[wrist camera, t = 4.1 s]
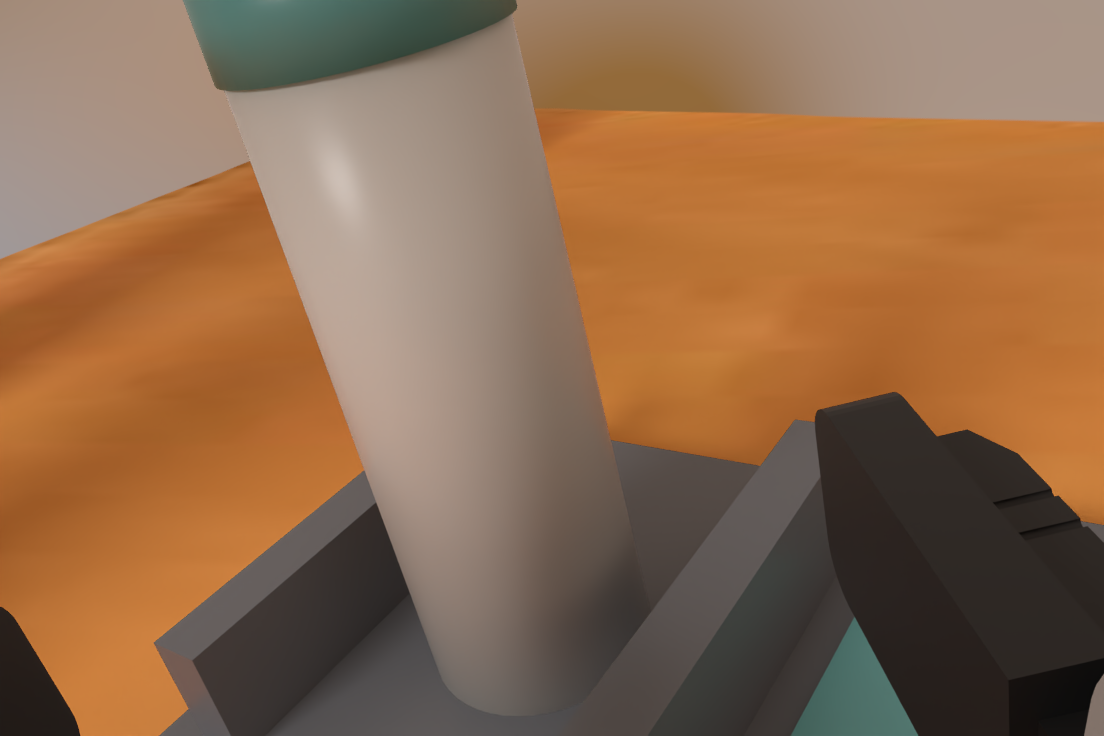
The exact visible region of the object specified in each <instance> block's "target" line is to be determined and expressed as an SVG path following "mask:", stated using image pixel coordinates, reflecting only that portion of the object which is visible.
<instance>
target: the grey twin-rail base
mask: <svg viewBox="0 0 1104 736" xmlns="http://www.w3.org/2000/svg"><path fill="white" fill-rule="evenodd" d="M611 444H612V448H613V452H614V456H615V461H616V465H617V469H618V474H619V478H620V482H621V487H622V491H623V495H624V500H625V504H626V508H627V513H628V517H629V521H630V526H631V530H632V534H633V539H634V543H635V547H636V552H637V556H638V560H639V565H640V569H641V573H642V577H643V582H644V586H645V590H646V595H647V599H648V603H649V608H650V614H649V615H648V617H647V618H646V619H645V621H644V622H643V623H642V625H641V626H640V627H639V629H638V630H637V631H636V633H635V634H634V635H633V637H632V638H631V639H630V641H629V642H628V643H627V645H626V646H625V647H624V649H623V650H622V651H621V653H620V654H619V655H618V657H617V658H616V659H615V661H614V662H613V663H612V665H611V666H610V667H609V669H608V670H607V671H606V673H605V674H604V675H603V677H602V678H601V679H600V681H599V682H598V683H597V685H596V686H595V687H594V689H593V690H592V691H591V693H590V694H589V695H588V697H587V698H586V699H585V701H583V702H581V703H579V704H576V705H574V706H571V707H568V708H565V709H562V710H558V711H554V712H551V713H546V714H539V715H533V716H503V715H497V714H492V713H487V712H484V711H481V710H478V709H475V708H473V707H471V706H469V705H467V704H465V703H464V702H462V701H461V700H460V699H458V698H457V697H456V696H455V695H454V694H453V693H452V692H451V691H450V690H449V689H448V688H447V686H446V685H445V684H444V682H443V680H442V678H441V676H440V673H439V671H438V668H437V665H436V663H435V660H434V657H433V654H432V652H431V649H430V646H429V644H428V641H427V638H426V635H425V633H424V630H423V627H422V625H421V622H420V619H419V617H418V614H417V611H416V608H415V606H414V603H413V600H412V598H411V595H410V592H409V589H408V587H407V584H406V581H405V579H404V576H403V573H402V571H401V568H400V565H399V562H398V560H397V557H396V554H395V552H394V549H393V546H392V543H391V541H390V538H389V535H388V533H387V530H386V527H385V525H384V522H383V519H382V516H381V514H380V511H379V508H378V506H377V503H376V500H375V497H374V495H373V492H372V489H371V487H370V484H369V481H368V479H367V476H366V473H365V470H364V471H363V472H362V473H360V474H359V475H358V476H357V477H356V478H354V479H353V480H352V481H351V482H349V483H348V484H347V485H346V486H345V487H343V488H342V489H341V490H340V491H338V492H337V493H336V494H335V495H334V496H332V497H331V498H330V499H329V500H328V501H326V502H325V503H324V504H323V505H321V506H320V507H319V508H318V509H317V510H315V511H314V512H313V513H312V514H310V515H309V516H308V517H307V518H306V519H304V520H303V521H302V522H301V523H299V524H298V525H297V526H296V527H295V528H293V529H292V530H291V531H290V532H288V533H287V534H286V535H285V536H284V537H282V538H281V539H280V540H279V541H277V542H276V543H275V544H274V545H273V546H271V547H270V548H269V549H268V550H266V551H265V552H264V553H263V554H262V555H260V556H259V557H258V558H257V559H255V560H254V561H253V562H252V563H251V564H249V565H248V566H247V567H246V568H244V569H243V570H242V571H241V572H240V573H238V574H237V575H236V576H235V577H233V578H232V579H231V580H230V581H229V582H227V583H226V584H225V585H224V586H222V587H221V588H220V589H219V590H218V591H216V592H215V593H214V594H213V595H211V596H210V597H209V598H208V599H207V600H205V601H204V602H203V603H202V604H200V605H199V606H198V607H197V608H196V609H194V610H193V611H192V612H191V613H189V614H188V615H187V616H186V617H185V618H183V619H182V620H181V621H180V622H178V623H177V624H176V625H175V626H174V627H172V628H171V629H170V630H169V631H167V632H166V633H165V634H164V635H163V636H161V637H160V638H159V639H158V640H156V641H155V642H154V644H155V646H156V648H157V650H158V652H159V654H160V656H161V657H162V659H163V661H164V663H165V665H166V667H167V669H168V671H169V672H170V674H171V676H172V678H173V680H174V682H175V684H176V686H177V687H178V689H179V691H180V693H181V695H182V697H183V699H184V700H185V702H186V704H187V706H188V708H189V709H188V710H187V711H186V712H185V713H184V714H183V715H182V716H181V717H180V718H178V719H177V720H176V721H175V722H174V723H173V724H172V725H171V726H169V727H168V728H167V729H166V730H165V731H164V732H163V733H162V734H161V735H159V736H918V734H917V732H916V730H915V729H914V727H913V725H912V723H911V721H910V719H909V717H908V716H907V714H906V712H905V710H904V708H903V706H902V704H901V702H900V701H899V699H898V697H897V695H896V693H895V691H894V689H893V688H892V686H891V684H890V682H889V680H888V678H887V676H886V674H885V673H884V671H883V669H882V667H881V665H880V663H879V661H878V660H877V658H876V656H875V654H874V652H873V650H872V648H871V646H870V645H869V643H868V641H867V639H866V637H865V635H864V633H863V632H862V630H861V628H860V626H859V624H858V622H857V620H856V618H855V617H854V615H853V613H852V611H851V609H850V607H849V605H848V603H847V601H846V599H845V597H844V594H843V592H842V589H841V587H840V584H839V581H838V578H837V575H836V572H835V569H834V565H833V561H832V557H831V553H830V548H829V542H828V535H827V527H826V518H825V510H824V501H823V493H822V485H821V476H820V468H819V459H818V451H817V442H816V433H815V422H809V421H801V420H794V422H793V423H792V424H791V426H790V427H789V429H788V430H787V431H786V433H785V434H784V435H783V437H782V438H781V439H780V441H779V442H778V443H777V445H776V446H775V447H774V449H773V450H772V451H771V453H770V454H769V455H768V457H767V458H766V459H765V461H764V462H763V463H762V465H761V466H757V465H752V464H746V463H740V462H734V461H728V460H723V459H717V458H711V457H705V456H699V455H694V454H688V453H682V452H676V451H670V450H665V449H659V448H653V447H647V446H641V445H636V444H630V443H624V442H618V441H612V440H611ZM1081 524H1082V526H1083V527H1086V526H1088V527H1089V528H1090V529H1091V530H1092V531H1093V532H1094V533H1095V534H1096V535H1097V536H1098V537H1099V538H1100V539H1101V540H1102V541H1103V542H1104V525H1100V524H1094V523H1088V522H1082V521H1081Z"/></svg>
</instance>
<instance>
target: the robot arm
mask: <svg viewBox="0 0 1104 736" xmlns="http://www.w3.org/2000/svg"><path fill="white" fill-rule="evenodd" d="M815 433H816V442H817V451H818V459H819V468H820V476H821V485H822V493H823V501H824V510H825V518H826V527H827V535H828V542H829V548H830V553H831V557H832V561H833V565H834V569H835V572H836V575H837V578H838V581H839V584H840V587H841V589H842V592H843V594H844V597H845V599H846V601H847V603H848V605H849V607H850V609H851V611H852V613H853V615H854V617H855V618H856V620H857V622H858V624H859V626H860V628H861V630H862V632H863V633H864V635H865V637H866V639H867V641H868V643H869V645H870V646H871V648H872V650H873V652H874V654H875V656H876V658H877V660H878V661H879V663H880V665H881V667H882V669H883V671H884V673H885V674H886V676H887V678H888V680H889V682H890V684H891V686H892V688H893V689H894V691H895V693H896V695H897V697H898V699H899V701H900V702H901V704H902V706H903V708H904V710H905V712H906V714H907V716H908V717H909V719H910V721H911V723H912V725H913V727H914V729H915V730H916V732H917V734H918V736H1104V542H1103V541H1102V540H1101V539H1100V538H1099V537H1098V536H1097V535H1096V534H1095V533H1094V532H1093V531H1092V530H1091V529H1090V528H1089V527H1088V526H1086V527H1083V526H1082V524H1081V521H1080V518H1079V517H1078V516H1077V515H1076V513H1075V512H1074V511H1073V510H1072V509H1071V508H1070V507H1069V506H1068V505H1067V504H1066V503H1065V502H1064V501H1063V500H1062V499H1061V498H1060V497H1059V496H1055V497H1054V495H1053V493H1052V489H1051V488H1050V487H1049V485H1048V484H1047V483H1046V482H1045V481H1044V480H1043V479H1042V478H1041V477H1040V476H1039V475H1038V474H1037V473H1036V472H1035V471H1034V470H1033V469H1032V468H1031V467H1030V466H1029V465H1028V464H1027V463H1026V462H1025V461H1024V460H1023V459H1022V458H1021V456H1020V455H1019V454H1017V453H1015V452H1013V451H1011V450H1009V449H1007V448H1005V447H1003V446H1001V445H999V444H996V443H994V442H992V441H990V440H988V439H986V438H984V437H982V436H980V435H978V434H975V433H973V432H971V431H969V430H963V431H959V432H955V433H950V434H946V435H942V436H938V437H937V436H936V435H935V434H934V433H933V432H932V431H931V429H930V428H929V427H928V426H927V425H926V423H925V422H924V421H923V420H922V419H921V418H920V416H919V415H918V414H917V413H916V412H915V411H914V409H913V408H912V407H911V406H910V405H909V404H908V402H907V401H906V400H905V399H904V398H903V397H902V396H901V395H900V394H898V393H896V392H892V393H888V394H883V395H879V396H875V397H871V398H867V399H862V400H858V401H854V402H850V403H846V404H841V405H837V406H833V407H829V408H824V409H820V410H818V411H817V413H816V416H815ZM0 736H80V733H79V729H78V725H77V722H76V720H75V717H74V715H73V713H72V712H71V710H70V708H69V707H68V705H67V703H66V702H65V700H64V698H63V697H62V695H61V693H60V692H59V690H58V689H57V687H56V685H55V684H54V682H53V680H52V679H51V677H50V675H49V674H48V672H47V671H46V669H45V667H44V666H43V664H42V662H41V661H40V659H39V657H38V656H37V654H36V652H35V651H34V649H33V648H32V646H31V644H30V643H29V641H28V639H27V638H26V636H25V634H24V633H23V631H22V629H21V628H20V626H19V625H18V623H17V621H16V620H15V619H14V617H13V616H12V615H11V614H10V613H9V612H8V611H7V610H5V609H4V608H2V607H0Z"/></svg>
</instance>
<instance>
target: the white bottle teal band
mask: <svg viewBox="0 0 1104 736" xmlns="http://www.w3.org/2000/svg"><path fill="white" fill-rule="evenodd" d="M183 2H184V4H185V7H186V10H187V12H188V15H189V18H190V20H191V23H192V26H193V29H194V31H195V34H196V37H197V39H198V42H199V45H200V47H201V50H202V53H203V55H204V58H205V61H206V63H207V66H208V69H209V71H210V74H211V77H212V80H213V82H214V85H215V87H216V88H217V89H220V90H224V92H225V94H226V97H227V100H228V102H229V105H230V108H231V111H232V113H233V116H234V119H235V121H236V124H237V127H238V130H239V132H240V135H241V138H242V140H243V143H244V146H245V148H246V151H247V154H248V157H249V159H250V162H251V165H252V167H253V170H254V173H255V176H256V178H257V181H258V184H259V186H260V189H261V192H262V194H263V197H264V200H265V203H266V205H267V208H268V211H269V213H270V216H271V219H272V222H273V224H274V227H275V230H276V232H277V235H278V238H279V240H280V243H281V246H282V249H283V251H284V254H285V257H286V259H287V262H288V265H289V268H290V270H291V273H292V276H293V278H294V281H295V284H296V286H297V289H298V292H299V295H300V297H301V300H302V303H303V305H304V308H305V311H306V314H307V316H308V319H309V322H310V324H311V327H312V330H313V332H314V335H315V338H316V341H317V343H318V346H319V349H320V351H321V354H322V357H323V360H324V362H325V365H326V368H327V370H328V373H329V376H330V378H331V381H332V384H333V387H334V389H335V392H336V395H337V397H338V400H339V403H340V406H341V408H342V411H343V414H344V416H345V419H346V422H347V424H348V427H349V430H350V433H351V435H352V438H353V441H354V443H355V446H356V449H357V451H358V454H359V457H360V460H361V462H362V465H363V468H364V470H365V473H366V476H367V479H368V481H369V484H370V487H371V489H372V492H373V495H374V497H375V500H376V503H377V506H378V508H379V511H380V514H381V516H382V519H383V522H384V525H385V527H386V530H387V533H388V535H389V538H390V541H391V543H392V546H393V549H394V552H395V554H396V557H397V560H398V562H399V565H400V568H401V571H402V573H403V576H404V579H405V581H406V584H407V587H408V589H409V592H410V595H411V598H412V600H413V603H414V606H415V608H416V611H417V614H418V617H419V619H420V622H421V625H422V627H423V630H424V633H425V635H426V638H427V641H428V644H429V646H430V649H431V652H432V654H433V657H434V660H435V663H436V665H437V668H438V671H439V673H440V676H441V678H442V680H443V682H444V684H445V685H446V686H447V688H448V689H449V690H450V691H451V692H452V693H453V694H454V695H455V696H456V697H457V698H458V699H460V700H461V701H462V702H464V703H465V704H467V705H469V706H471V707H473V708H475V709H478V710H481V711H484V712H487V713H492V714H497V715H503V716H533V715H539V714H546V713H551V712H554V711H558V710H562V709H565V708H568V707H571V706H574V705H576V704H579V703H581V702H583V701H585V699H586V698H587V697H588V695H589V694H590V693H591V691H592V690H593V689H594V687H595V686H596V685H597V683H598V682H599V681H600V679H601V678H602V677H603V675H604V674H605V673H606V671H607V670H608V669H609V667H610V666H611V665H612V663H613V662H614V661H615V659H616V658H617V657H618V655H619V654H620V653H621V651H622V650H623V649H624V647H625V646H626V645H627V643H628V642H629V641H630V639H631V638H632V637H633V635H634V634H635V633H636V631H637V630H638V629H639V627H640V626H641V625H642V623H643V622H644V621H645V619H646V618H647V617H648V615H649V614H650V608H649V603H648V599H647V595H646V590H645V586H644V582H643V577H642V573H641V569H640V565H639V560H638V556H637V552H636V547H635V543H634V539H633V534H632V530H631V526H630V521H629V517H628V513H627V508H626V504H625V500H624V495H623V491H622V487H621V482H620V478H619V474H618V469H617V465H616V461H615V456H614V452H613V448H612V444H611V439H610V435H609V431H608V426H607V422H606V418H605V413H604V409H603V405H602V400H601V396H600V392H599V387H598V383H597V379H596V374H595V370H594V366H593V361H592V357H591V353H590V348H589V344H588V340H587V335H586V331H585V327H584V323H583V318H582V314H581V310H580V305H579V301H578V297H577V292H576V288H575V284H574V279H573V275H572V271H571V266H570V262H569V258H568V253H567V249H566V245H565V240H564V236H563V232H562V227H561V223H560V219H559V214H558V210H557V206H556V202H555V197H554V193H553V189H552V184H551V180H550V176H549V171H548V167H547V163H546V158H545V154H544V150H543V145H542V141H541V137H540V132H539V128H538V124H537V119H536V115H535V111H534V106H533V103H532V98H531V94H530V90H529V85H528V81H527V76H526V72H525V68H524V63H523V59H522V55H521V50H520V46H519V42H518V37H517V33H516V29H515V24H514V20H513V16H512V13H513V12H514V11H515V10H516V9H517V3H516V0H183Z"/></svg>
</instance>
